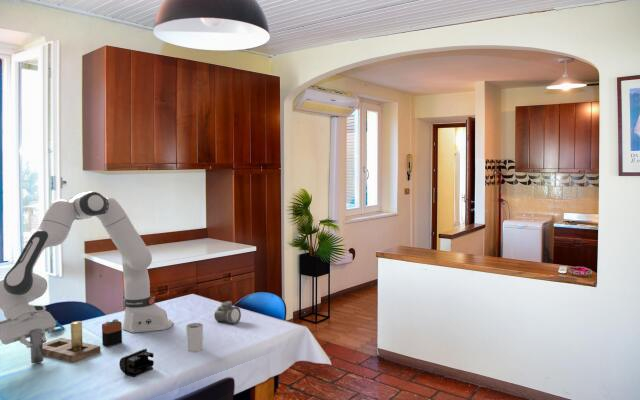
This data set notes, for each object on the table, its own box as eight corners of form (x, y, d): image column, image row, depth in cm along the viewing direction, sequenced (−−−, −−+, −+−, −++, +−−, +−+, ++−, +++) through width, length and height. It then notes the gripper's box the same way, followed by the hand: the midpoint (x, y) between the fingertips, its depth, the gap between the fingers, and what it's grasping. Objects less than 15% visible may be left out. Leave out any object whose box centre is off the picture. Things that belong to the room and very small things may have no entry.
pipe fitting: (243, 320, 240) (239, 300, 240) (232, 326, 233) (228, 305, 233) (224, 319, 246) (220, 299, 246) (213, 325, 239) (209, 305, 239)
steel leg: (45, 358, 191) (43, 328, 190) (40, 362, 187) (38, 331, 186) (34, 359, 191) (32, 328, 190) (29, 363, 187) (27, 332, 186)
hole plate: (34, 352, 200) (34, 346, 200) (61, 343, 211) (61, 337, 211) (74, 362, 190) (73, 356, 190) (100, 352, 200) (100, 346, 200)
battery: (122, 342, 211) (121, 319, 211) (107, 347, 206) (106, 323, 205) (117, 340, 214) (116, 318, 213) (102, 345, 209) (101, 321, 208)
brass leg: (84, 352, 200) (83, 321, 199) (80, 356, 196) (79, 324, 195) (74, 353, 199) (72, 321, 199) (70, 356, 196) (69, 324, 195)
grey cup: (188, 353, 198) (188, 328, 198) (185, 348, 204) (184, 324, 204) (205, 350, 202) (204, 326, 201) (201, 345, 207) (200, 321, 207)
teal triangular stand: (67, 328, 227) (49, 315, 223) (58, 339, 224) (39, 326, 220) (64, 325, 236) (46, 313, 232) (54, 336, 233) (36, 323, 229)
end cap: (141, 364, 187) (141, 347, 187) (154, 368, 184) (154, 350, 183) (119, 374, 179) (118, 355, 178) (132, 378, 175) (132, 359, 175)
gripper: (-5, 318, 182) (13, 348, 178) (48, 304, 200) (65, 331, 196) (-11, 328, 184) (6, 358, 180) (41, 314, 202) (58, 341, 198)
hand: (37, 344), depth 188 cm, fingers closed on steel leg, 4 cm apart
